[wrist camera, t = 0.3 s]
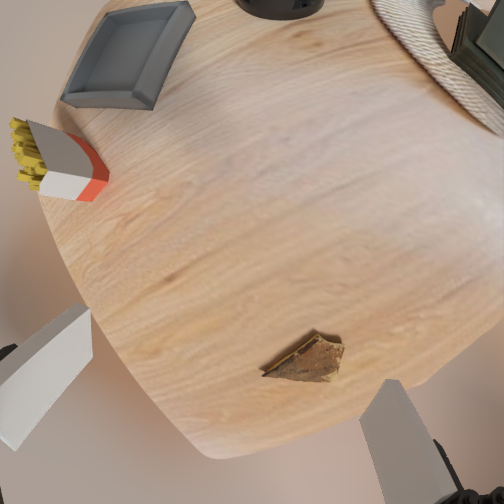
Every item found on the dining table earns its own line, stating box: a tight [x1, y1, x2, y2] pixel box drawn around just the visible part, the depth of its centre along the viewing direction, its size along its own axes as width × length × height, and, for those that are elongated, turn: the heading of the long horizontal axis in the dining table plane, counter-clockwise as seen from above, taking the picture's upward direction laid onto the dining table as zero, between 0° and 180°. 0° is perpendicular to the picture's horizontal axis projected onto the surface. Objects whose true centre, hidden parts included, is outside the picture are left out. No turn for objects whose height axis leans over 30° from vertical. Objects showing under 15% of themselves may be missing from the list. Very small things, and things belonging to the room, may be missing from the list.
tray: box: [60, 1, 196, 111], centre depth 32 cm, size 20×18×5 cm
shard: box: [262, 334, 345, 382], centre depth 36 cm, size 11×8×2 cm
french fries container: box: [9, 118, 109, 202], centre depth 29 cm, size 5×11×18 cm, turn 40°
